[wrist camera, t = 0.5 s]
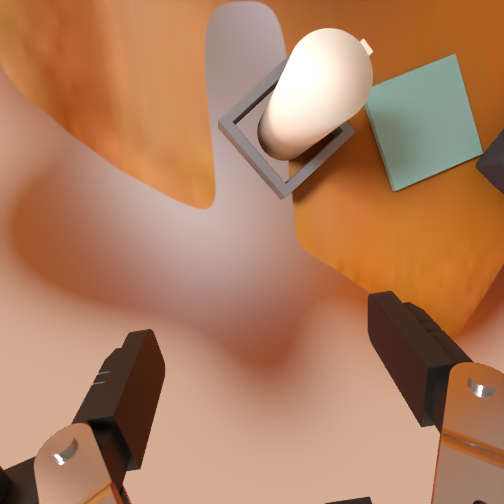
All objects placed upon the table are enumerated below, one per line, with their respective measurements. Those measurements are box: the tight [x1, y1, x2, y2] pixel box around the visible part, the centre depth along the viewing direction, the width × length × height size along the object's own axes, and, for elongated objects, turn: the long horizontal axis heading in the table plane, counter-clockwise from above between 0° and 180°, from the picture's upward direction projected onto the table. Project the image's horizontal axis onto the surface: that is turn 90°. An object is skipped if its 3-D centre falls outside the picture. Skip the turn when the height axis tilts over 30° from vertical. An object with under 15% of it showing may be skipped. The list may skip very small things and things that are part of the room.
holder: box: [218, 53, 356, 199], centre depth 33 cm, size 10×10×2 cm
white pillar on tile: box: [257, 28, 373, 160], centre depth 28 cm, size 8×6×14 cm
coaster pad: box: [364, 54, 483, 191], centre depth 36 cm, size 12×12×1 cm
